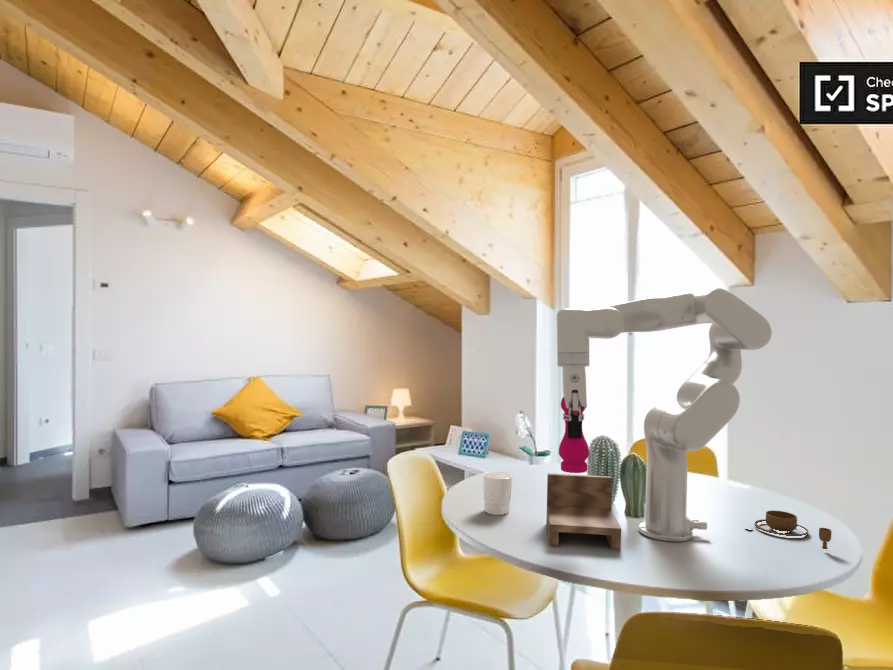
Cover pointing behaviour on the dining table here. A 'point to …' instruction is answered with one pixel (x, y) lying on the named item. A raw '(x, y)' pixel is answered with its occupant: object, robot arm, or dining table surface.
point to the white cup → (497, 492)
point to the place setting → (790, 525)
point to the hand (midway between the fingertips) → (574, 435)
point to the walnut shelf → (581, 507)
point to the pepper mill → (573, 447)
